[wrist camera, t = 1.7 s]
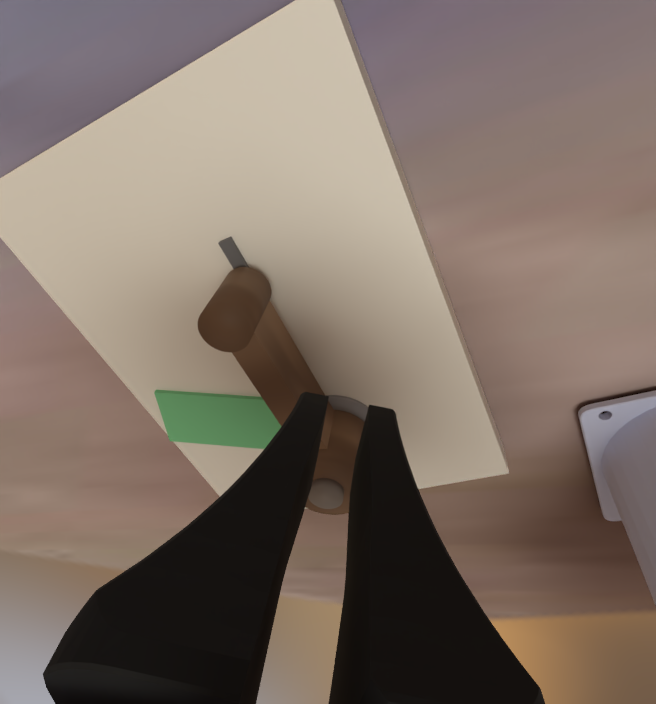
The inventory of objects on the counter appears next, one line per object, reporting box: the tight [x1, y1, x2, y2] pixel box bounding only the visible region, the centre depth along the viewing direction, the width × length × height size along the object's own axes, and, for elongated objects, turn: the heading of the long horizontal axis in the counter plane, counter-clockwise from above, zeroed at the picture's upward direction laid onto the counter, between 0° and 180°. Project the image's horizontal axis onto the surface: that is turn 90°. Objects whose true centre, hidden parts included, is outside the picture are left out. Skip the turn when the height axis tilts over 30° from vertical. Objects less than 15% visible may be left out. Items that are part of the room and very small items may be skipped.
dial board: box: [0, 0, 509, 509], centre depth 21 cm, size 15×20×2 cm
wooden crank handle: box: [198, 267, 364, 515], centre depth 19 cm, size 10×3×3 cm, turn 25°
